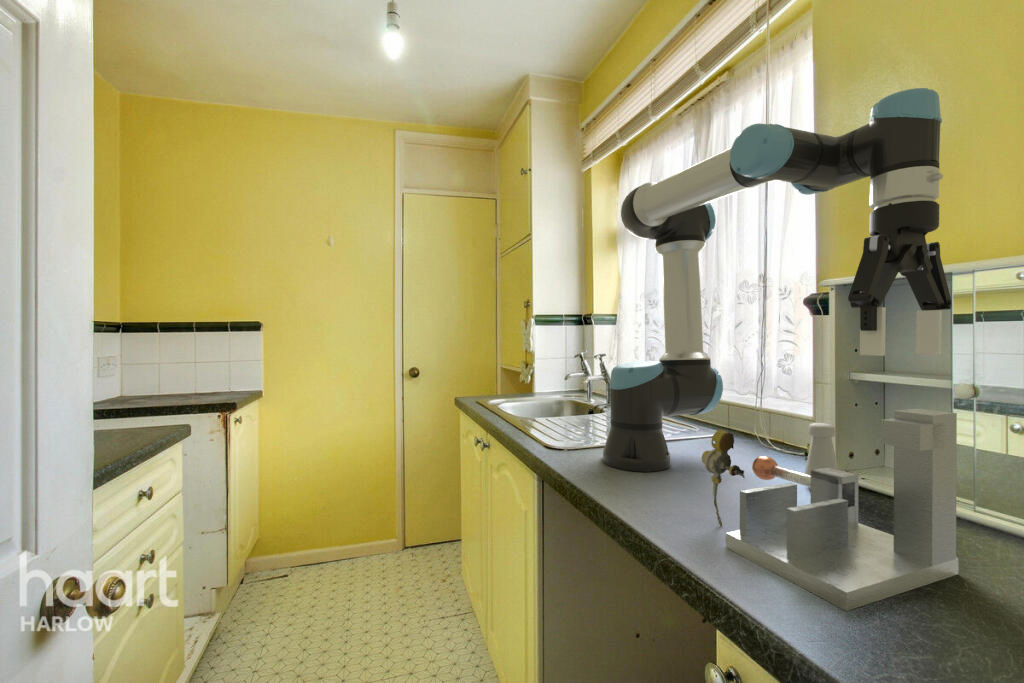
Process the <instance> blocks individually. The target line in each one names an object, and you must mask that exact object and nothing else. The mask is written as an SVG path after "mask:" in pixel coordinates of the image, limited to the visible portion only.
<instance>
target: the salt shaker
mask: <svg viewBox="0 0 1024 683" xmlns="http://www.w3.org/2000/svg"><path fill="white" fill-rule="evenodd" d="M807 430H808V435H810V436H811V441H810V444H809V445H810V446H809V450H808V456H807V461H806V465H805V470H804V474H807V475H811V470H815V469H822V468H829V467H831V468H835V469H839V468H838V462H837V458H836V452H835V447H834V443H833V438H835V436H836V427H835V426H834V425H832V424H829V423H825V422H812V423H810V424H809V425H808V429H807ZM808 489H809V490H810V491H811V487H808Z"/></svg>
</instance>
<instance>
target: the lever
mask: <svg viewBox="0 0 1024 683" xmlns="http://www.w3.org/2000/svg"><path fill="white" fill-rule="evenodd" d="M751 466H752V467H751V468H752V472H753V474H754V475H755V476H756V477H757V478H759V479H761V480H764V481H771V480H773V479H775V478H778V479H782V480H785V481H788V482H790V483H793V484H797V485H801V486H805V487H807V488H809V487H811V475H807V474H805V472H804V473H803V472H800V471H797V470H793V469H790V468H785V467H783V466H779V465H778V462H776V460H775V459H773V458H772V457H771V456H767V455H761V456H758V457H756V458H755V459H754V460H753V462H752V465H751ZM844 494H845V486H844V485H843V484H842V496H843V495H844Z"/></svg>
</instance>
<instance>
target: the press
mask: <svg viewBox="0 0 1024 683" xmlns="http://www.w3.org/2000/svg"><path fill="white" fill-rule="evenodd" d="M957 414H958V413H957V412H949V411H941V410H933V409H926V408H909V409H899V410H893V418H887V419H885V418H883V419H881V445H887V446H893V534H891V533H888V532H884V531H882V530H880V529H876V528H873V527H871V526H868V525H865V524H863V523H859V474H857V473H854V472H850V471H847V470H842V469H839V468H838V469H835V468H831V467H829V468H822V469H815V470H811V490H810V503H808V504H802V505H798V484H797V483H794V482H788V483H782V484H781V483H780V484H775V485H769V486H762V487H756V488H755V487H754V488H750V489H742V490H740V491H739V529H737V530H733V531H732V530H731V531H727V532H725V548H726V549H729V550H731V551H732V552H734V553H736V554H738V555H739V556H743V557H744V558H746V559H747V560H750V561H752V562H753V563H755V564H757V565H759V566H761V567H762V568H765V569H766V570H768V571H770V572H772V573H774V574H775V575H778V576H780V577H782V578H783V579H786V580H787V581H789V582H791V583H793V584H794V585H796V586H798V587H800V588H802V589H804V590H806V591H808V592H810V593H812V594H813V595H815V596H817V597H818V598H822V599H823V600H825V601H826V602H828V603H831V604H832V605H834V606H836V607H839V608H840V609H841V610H843V611H846V612H848V611H851V610H854V609H857V608H860V607H863V606H867V605H869V604H872V603H875V602H879V601H881V600H884V599H888V598H890V597H894V596H897V595H900V594H902V593H906V592H909V591H911V590H915V589H917V588H920V587H924V586H927V585H930V584H932V583H937V582H939V581H941V580H945V579H949V578H951V577H954V576H957V575H959V558H958V557H957V465H958V464H957V449H958V448H957V445H958V444H957V443H958V442H957V437H958V436H957V435H958V434H957V432H958V431H957V430H958V428H957V426H958V424H957V423H958V422H957V417H958V416H957ZM842 484H843V485H844V486H845V494H844V495H843V496H842Z"/></svg>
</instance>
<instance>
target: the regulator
mask: <svg viewBox="0 0 1024 683" xmlns="http://www.w3.org/2000/svg"><path fill="white" fill-rule="evenodd" d="M710 442H711V445H712V448H713V449H712V450H705V451H704V452H703V453H702V455H701V462H702V463H703V464H704V468H705V469H706V472H709V473H710V474H713V475H712V476H711V482H712V495H713V498H714V499H713V504H714V508H715V513H716V518H717V519H716V520H717V521H718V525H719V527H722V526H723V523H722V518H721V516H720V513H719V509H718V503H717V492H718V487H719V486H718V485H719V484H720V483H722V476H721V475H722V474H723V473H725V472H726V471H728V473H729V476H732V477H735V476H740V477H742V478H743V480H745V479H746V478H745V470H744V469H741V468H740V466H738V465H736V464H735V465H732V466H731V464H732V459H731V455H730V454H729V453H728V452H729V450H730V449H732V450H734V445H735V437H734V434H733V433H731V432H728V431H726V430H724V429H717V430H716V431H715V432H714V433H713V435H712V437H711V441H710ZM713 442H714V443H713Z"/></svg>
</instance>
